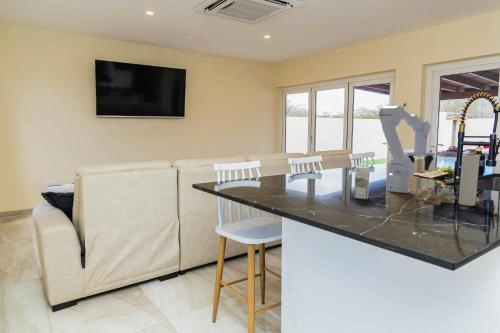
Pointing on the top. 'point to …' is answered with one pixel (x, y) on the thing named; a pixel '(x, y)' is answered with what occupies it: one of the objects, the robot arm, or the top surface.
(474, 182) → the paper towel roll
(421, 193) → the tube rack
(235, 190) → the top surface
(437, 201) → the stand
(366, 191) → the syrup box
